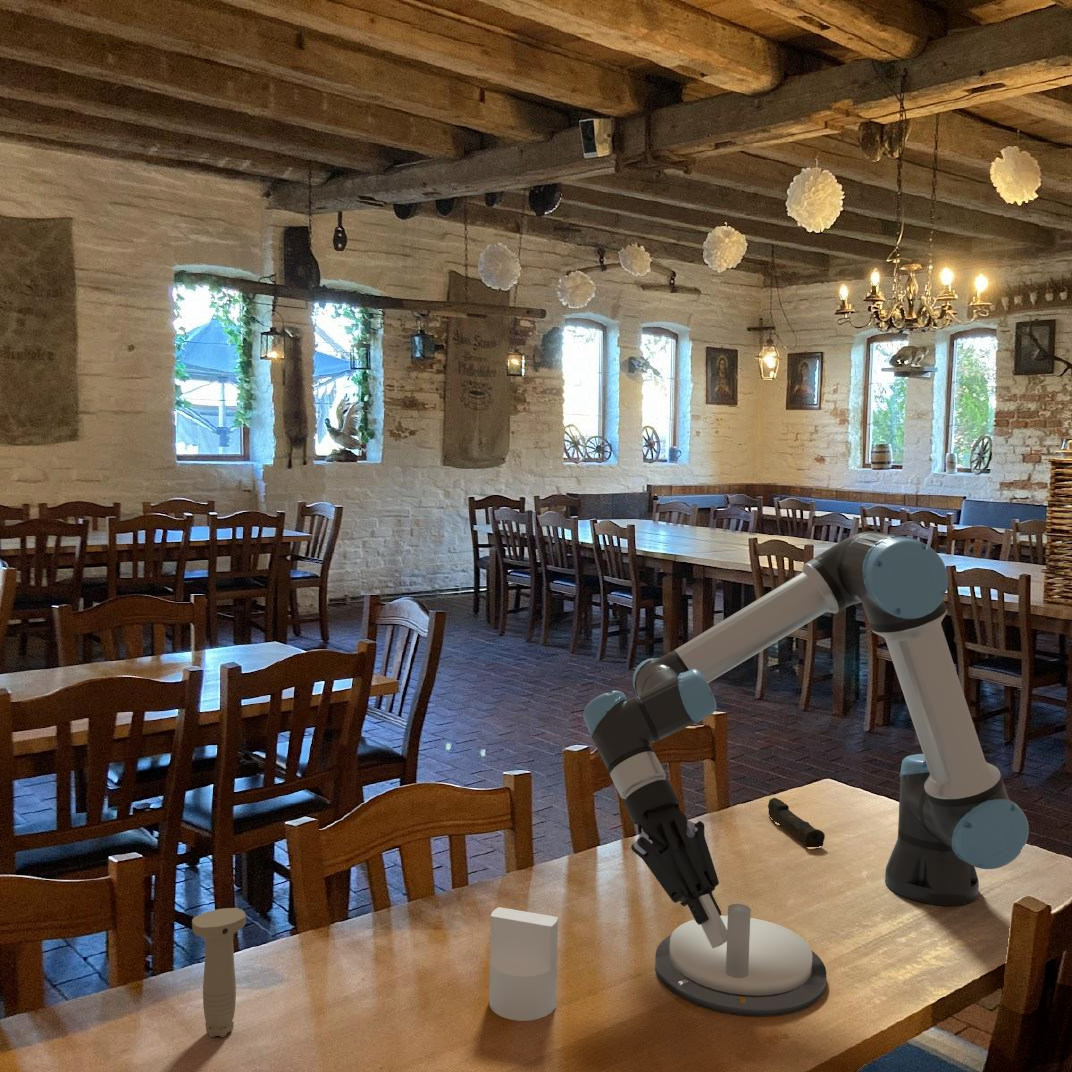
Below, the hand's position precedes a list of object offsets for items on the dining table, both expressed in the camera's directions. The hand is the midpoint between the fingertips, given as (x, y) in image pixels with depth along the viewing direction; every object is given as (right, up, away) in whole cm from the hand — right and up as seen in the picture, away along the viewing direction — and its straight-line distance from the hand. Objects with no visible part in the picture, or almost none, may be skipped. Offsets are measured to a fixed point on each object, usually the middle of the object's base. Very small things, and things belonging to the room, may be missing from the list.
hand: (721, 943), depth 146 cm
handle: (-66, -7, -12) cm, 67 cm away
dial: (+4, -5, +6) cm, 9 cm away
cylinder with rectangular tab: (-27, -7, -3) cm, 28 cm away
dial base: (+4, -7, +6) cm, 10 cm away
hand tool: (+24, -3, +63) cm, 67 cm away
